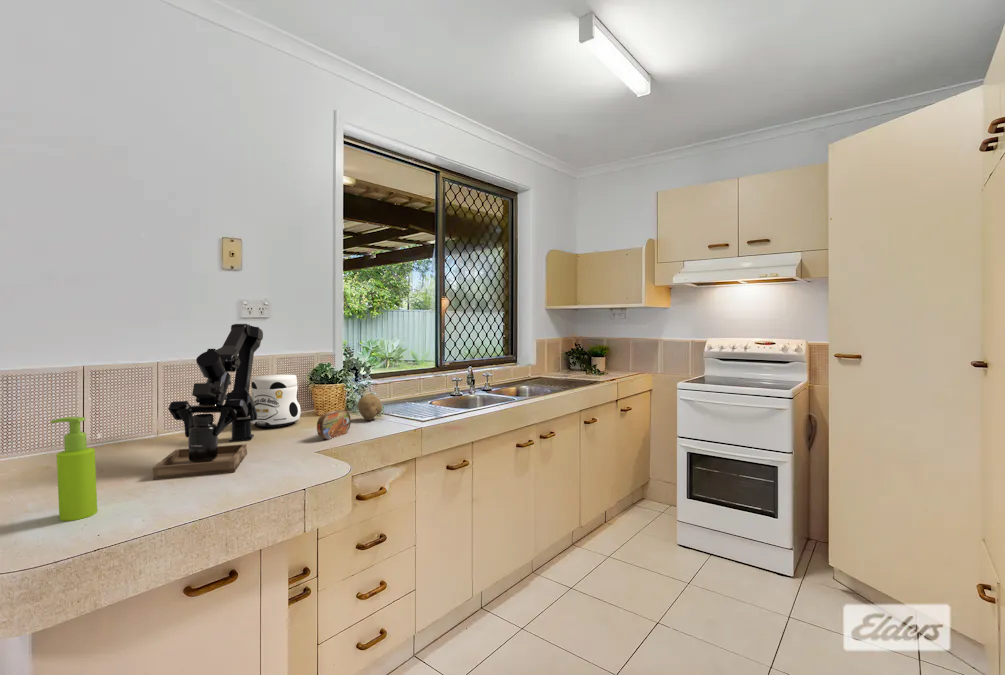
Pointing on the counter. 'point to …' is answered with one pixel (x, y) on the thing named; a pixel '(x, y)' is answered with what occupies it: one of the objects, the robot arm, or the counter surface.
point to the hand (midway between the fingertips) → (201, 435)
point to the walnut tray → (200, 463)
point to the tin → (333, 424)
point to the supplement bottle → (202, 439)
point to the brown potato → (369, 406)
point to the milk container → (275, 400)
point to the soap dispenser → (76, 474)
